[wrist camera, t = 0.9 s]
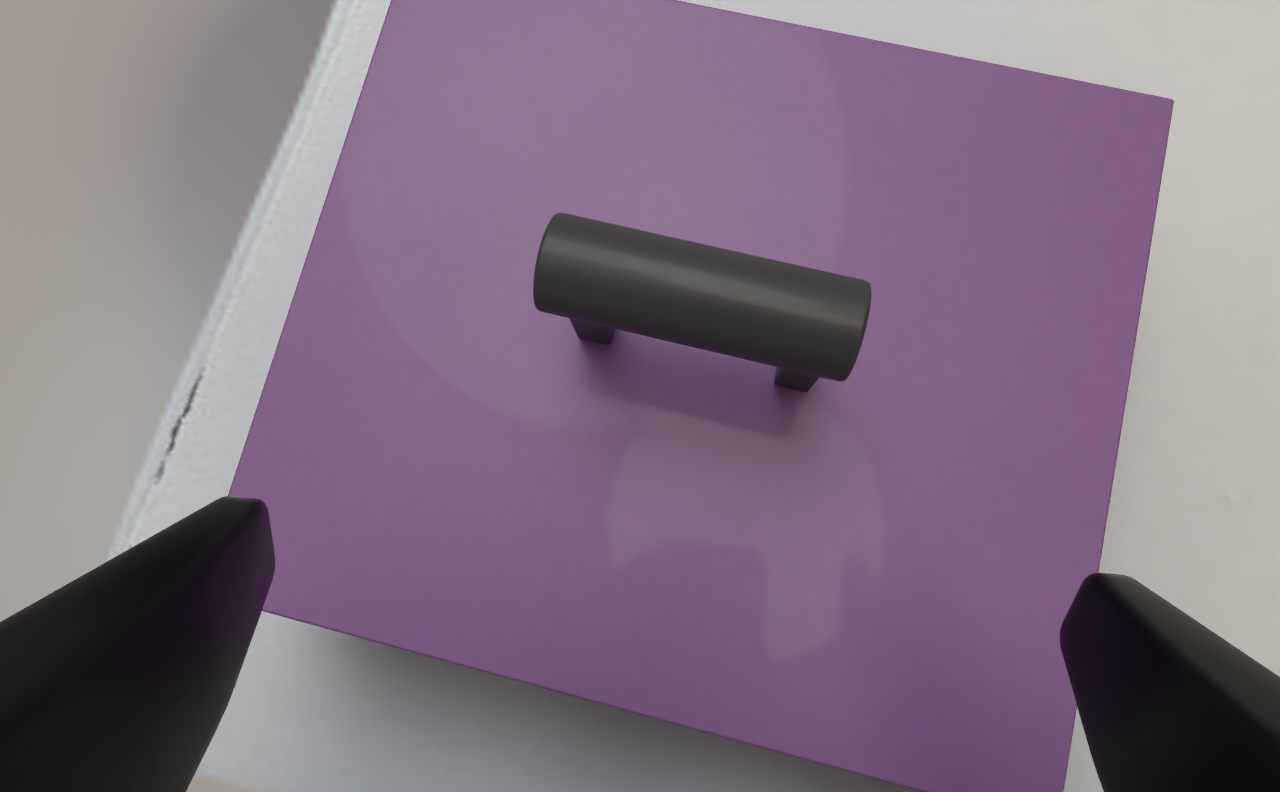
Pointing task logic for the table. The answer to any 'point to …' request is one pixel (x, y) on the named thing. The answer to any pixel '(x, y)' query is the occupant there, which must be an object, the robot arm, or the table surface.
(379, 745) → the table surface
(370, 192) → the lid
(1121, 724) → the robot arm
